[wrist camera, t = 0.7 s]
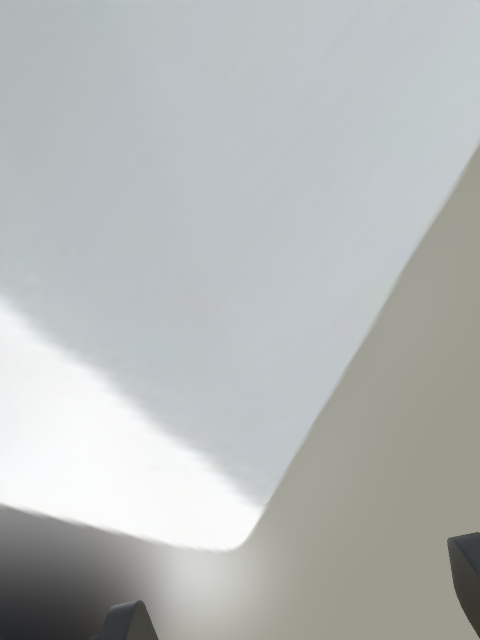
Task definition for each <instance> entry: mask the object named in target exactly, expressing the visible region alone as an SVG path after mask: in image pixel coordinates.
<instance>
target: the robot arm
mask: <svg viewBox="0 0 480 640" xmlns="http://www.w3.org/2000/svg"><path fill="white" fill-rule="evenodd" d="M447 543H448V550H449V557H450V564H451V570H452V577H453V583H454V588H455V591H456V594H457V597H458V599H459V602H460V604H461V607H462V609H463V610H464V612H465V614H466V616H467V618H468V620H469V621H470V623H471V625H472V626H473V628H474V630H475V631H476V633H477V635H478V636H479V638H480V533H479V532H476V533H471V534H466V535H461V536H456V537H451V538H448V541H447ZM89 640H158V638H157V635H156V632H155V630H154V628H153V625H152V622H151V620H150V617H149V614H148V612H147V610H146V607H145V604H144V603H143V601H141V600H139V601H134V602H129V603H124V604H119V605H114V606H112V608H110V610H109V612H108V614H107V617H106V620H105V622H104V625H103V628H102V631H101V634H99V635H94V636H91V637H90V639H89Z"/></svg>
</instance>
